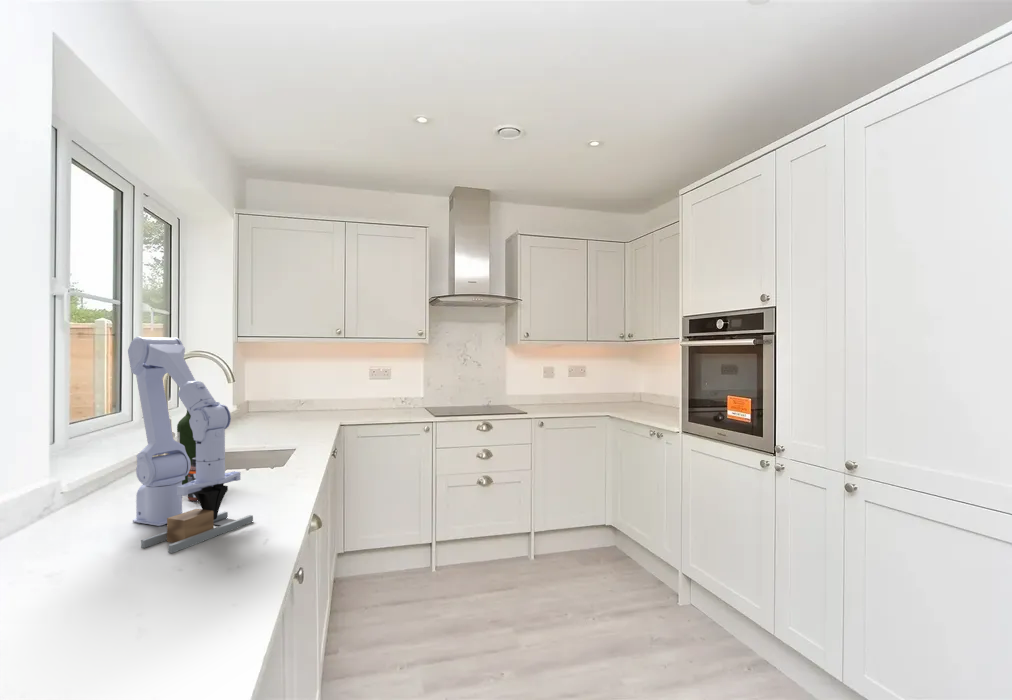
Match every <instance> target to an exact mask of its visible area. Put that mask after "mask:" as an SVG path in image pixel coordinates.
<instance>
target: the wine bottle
mask: <svg viewBox="0 0 1012 700" xmlns="http://www.w3.org/2000/svg"><path fill="white" fill-rule="evenodd" d="M190 418H191V415H190V413H189V412H188V410H187V409H186V414H185V415H184V416H183V417H182V418H181V419H180V420H179V421H178V423H177V425H176V426H177V427H176V441H177V442H178V443H180V444H182V445H184V446H185V450H186V453H187V455H188V457H189V459H190V462H191V465H192V458H195V457H196V440H194V438H193V431H192V429H191V427H190V423H189V420H190ZM186 483H188V474H187V475H186V476H185V480H182V485H184V484H186Z"/></svg>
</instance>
